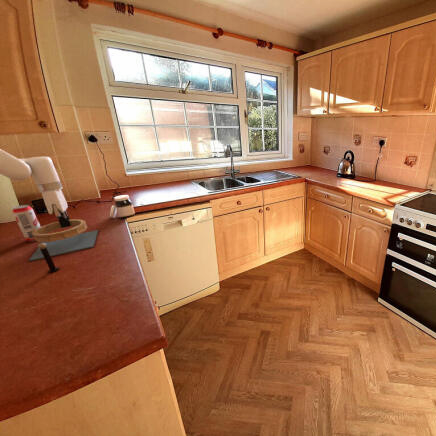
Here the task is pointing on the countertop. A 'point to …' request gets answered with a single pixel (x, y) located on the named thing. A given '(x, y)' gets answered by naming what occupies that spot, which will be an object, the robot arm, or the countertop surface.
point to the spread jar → (122, 207)
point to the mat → (67, 245)
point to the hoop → (41, 232)
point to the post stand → (47, 257)
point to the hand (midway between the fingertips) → (66, 225)
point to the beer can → (26, 221)
